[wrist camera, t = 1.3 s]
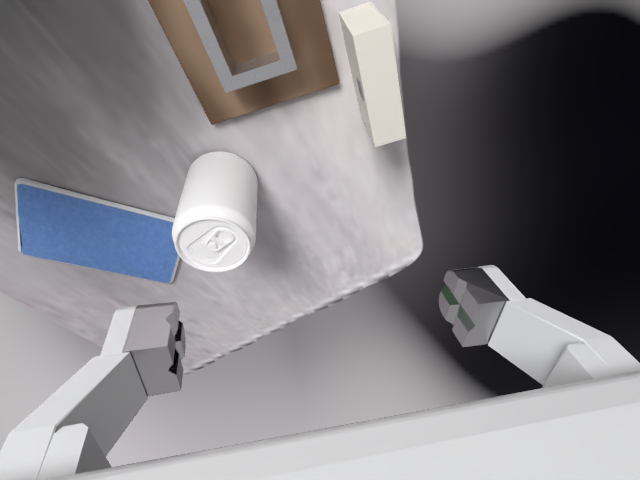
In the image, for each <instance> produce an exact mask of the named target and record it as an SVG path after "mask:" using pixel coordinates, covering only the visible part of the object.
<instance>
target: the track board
mask: <svg viewBox="0 0 640 480" xmlns="http://www.w3.org/2000/svg"><path fill="white" fill-rule="evenodd" d="M148 1H149V3H150V5H151V7H152V9H153V11H154V13H155V15H156V17H157V19H158V21H159V23H160V24H161V26H162V28H163V30H164V32H165V34H166V36H167V38H168V40H169V42H170V44H171V46H172V48H173V50H174V52H175V54H176V56H177V58H178V60H179V62H180V64H181V66H182V68H183V70H184V72H185V74H186V76H187V78H188V79H189V81H190V83H191V85H192V87H193V89H194V91H195V93H196V95H197V97H198V99H199V101H200V103H201V105H202V107H203V109H204V111H205V113H206V115H207V117H208V119H209V121H210V123H211V125H212V124H216V123H219V122H222V121H225V120H228V119H231V118H234V117H237V116H241V115H244V114H247V113H250V112H253V111H256V110H259V109H262V108H265V107H269V106H272V105H275V104H278V103H281V102H284V101H287V100H290V99H294V98H297V97H300V96H303V95H306V94H309V93H312V92H315V91H318V90H322V89H325V88H328V87H331V86H334V85H337V84H339V80H338V76H337V72H336V68H335V64H334V60H333V55H332V51H331V47H330V43H329V39H328V35H327V31H326V26H325V22H324V18H323V14H322V10H321V6H320V1H319V0H278V3H279V6H280V9H281V13H282V16H283V19H284V22H285V26H286V29H287V32H288V36H289V39H290V42H291V45H292V49H293V52H294V55H295V58H296V64H297V70H294V71H291V72H288V73H285V74H282V75H279V76H276V77H273V78H270V79H267V80H264V81H261V82H258V83H255V84H252V85H249V86H246V87H243V88H239V89H236V90H233V91H230V92H227V93H225V91H224V89H223V87H222V84H221V82H220V80H219V78H218V76H217V73H216V71H215V69H214V67H213V65H212V62H211V60H210V58H209V56H208V54H207V51H206V49H205V47H204V45H203V42H202V40H201V38H200V36H199V34H198V31H197V29H196V27H195V25H194V23H193V20H192V18H191V16H190V14H189V12H188V9H187V7H186V5H185V3H184V1H183V0H148ZM207 1H208V4H209V6H210V8H211V11H212V13H213V16H214V18H215V20H216V23H217V25H218V28H219V30H220V32H221V35H222V37H223V40H224V42H225V44H226V47H227V49H228V52H229V54H230V56H231V59H232V61H233V64H234V65H237V64H240V63H243V62H246V61H249V60H252V59H254V58H257V57H260V56H263V55H266V54H269V53H272V52H275V51H277V48H276V45H275V42H274V39H273V36H272V33H271V30H270V27H269V24H268V21H267V18H266V15H265V12H264V9H263V6H262V3H261V0H207Z"/></svg>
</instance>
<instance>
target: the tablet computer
mask: <svg viewBox="0 0 640 480" xmlns="http://www.w3.org/2000/svg"><path fill="white" fill-rule="evenodd" d="M14 189H15V204H16V219H17V235H18V250H19V252H20V253H22V254H23V255H26V256H31V257H36V258H41V259H46V260H51V261H56V262H61V263H66V264H71V265H76V266H82V267H87V268H92V269H97V270H102V271H107V272H112V273H116V274H121V275H126V276H131V277H136V278H141V279H146V280H151V281H156V282H161V283H165V284H169V283H171V282H172V281H173V280H174V277H175V274H176V270H177V266H178V263H179V260H180V256H179V255H178V253H177V251H176V249H175V244H174V242H173V238H172V227H173V223H174V220H175V218H173V217H169V216H165V215H161V214H157V213H153V212H149V211H145V210H141V209H137V208H134V207H130V206H126V205H122V204H118V203H114V202H111V201H107V200H103V199H99V198H95V197H92V196H88V195H84V194H80V193H77V192H73V191H69V190H65V189H62V188H58V187H54V186H51V185H47V184H44V183H40V182H36V181H33V180H29V179H26V178H17V179H16V181H15V183H14Z"/></svg>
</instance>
